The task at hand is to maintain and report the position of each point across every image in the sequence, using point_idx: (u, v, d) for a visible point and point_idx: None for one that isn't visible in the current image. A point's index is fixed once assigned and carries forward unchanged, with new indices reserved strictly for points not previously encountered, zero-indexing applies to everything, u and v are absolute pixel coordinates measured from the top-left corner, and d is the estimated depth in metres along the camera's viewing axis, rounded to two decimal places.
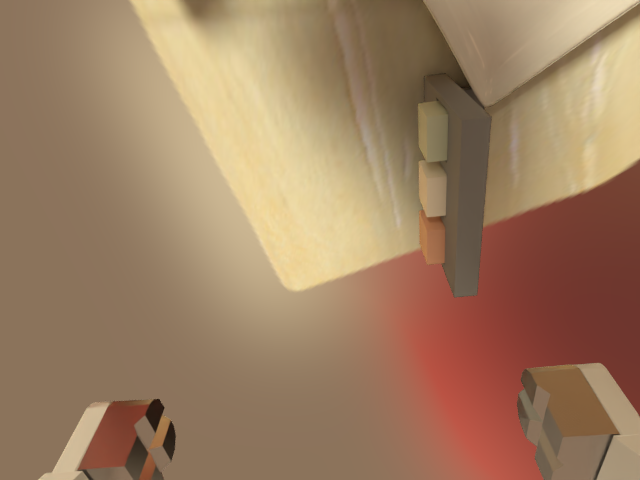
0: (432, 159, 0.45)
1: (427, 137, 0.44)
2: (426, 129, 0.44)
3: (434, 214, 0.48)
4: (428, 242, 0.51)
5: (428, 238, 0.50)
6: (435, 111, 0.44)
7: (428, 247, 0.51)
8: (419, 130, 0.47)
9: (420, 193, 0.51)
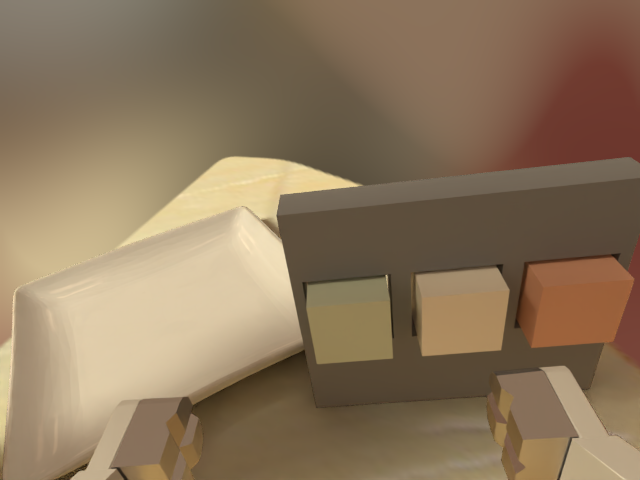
0: (383, 294, 0.25)
1: (342, 304, 0.25)
2: (330, 309, 0.25)
3: (499, 281, 0.25)
4: (571, 282, 0.24)
5: (561, 283, 0.24)
6: None
7: (584, 281, 0.24)
8: (359, 353, 0.27)
9: (484, 341, 0.26)
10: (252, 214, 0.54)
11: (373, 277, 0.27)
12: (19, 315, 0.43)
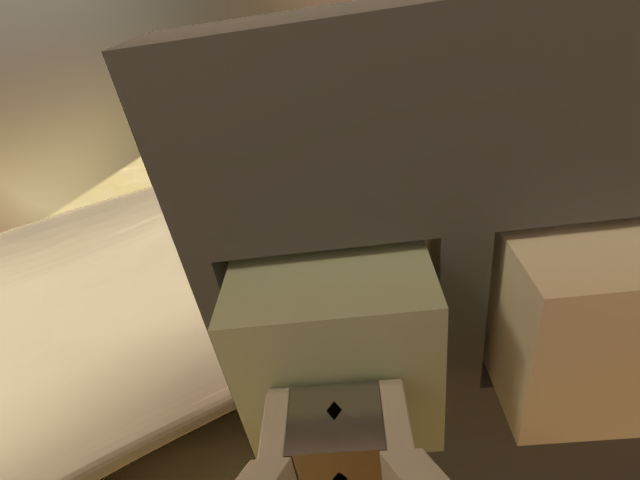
0: (427, 290, 0.09)
1: (311, 321, 0.09)
2: (276, 334, 0.09)
3: None
4: None
5: None
6: None
7: None
8: None
9: None
10: None
11: (394, 248, 0.10)
12: None
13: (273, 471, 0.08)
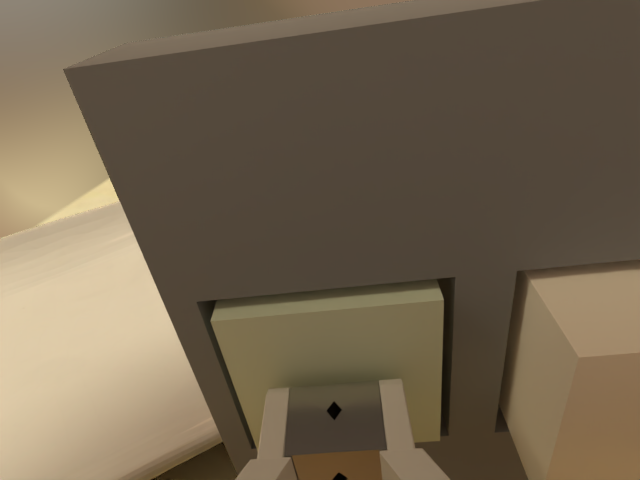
0: (423, 283, 0.09)
1: (311, 312, 0.09)
2: (277, 325, 0.09)
3: None
4: None
5: None
6: None
7: None
8: None
9: None
10: None
11: None
12: None
13: (273, 471, 0.08)
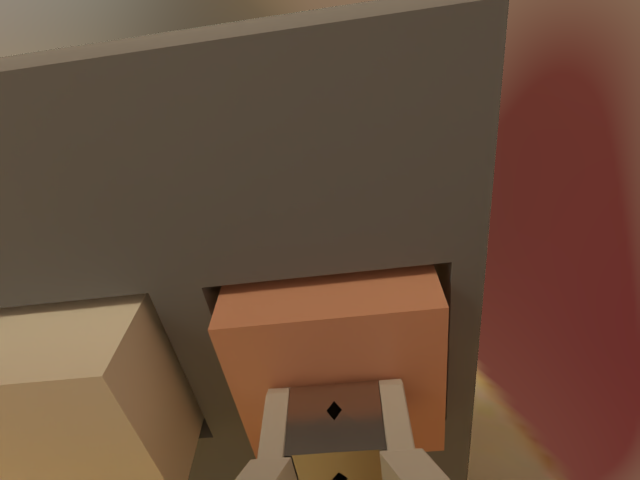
0: None
1: None
2: None
3: (106, 344, 0.09)
4: (285, 316, 0.09)
5: (258, 319, 0.09)
6: None
7: (320, 313, 0.09)
8: None
9: None
10: None
11: None
12: None
13: (273, 471, 0.08)
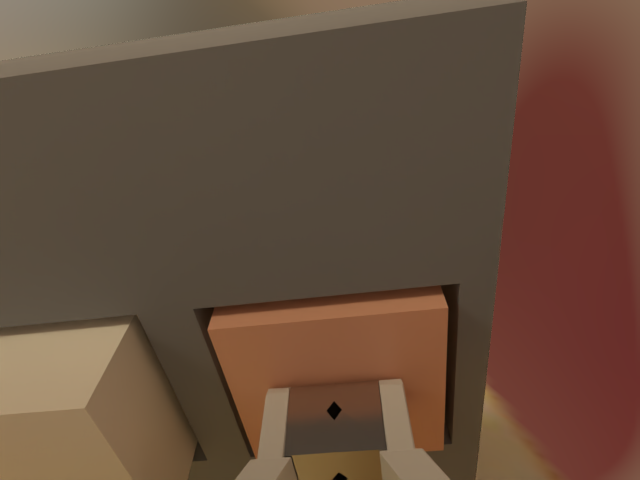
0: None
1: None
2: None
3: (90, 371, 0.08)
4: (285, 316, 0.09)
5: (258, 319, 0.09)
6: None
7: (319, 313, 0.09)
8: None
9: None
10: None
11: None
12: None
13: (273, 471, 0.08)
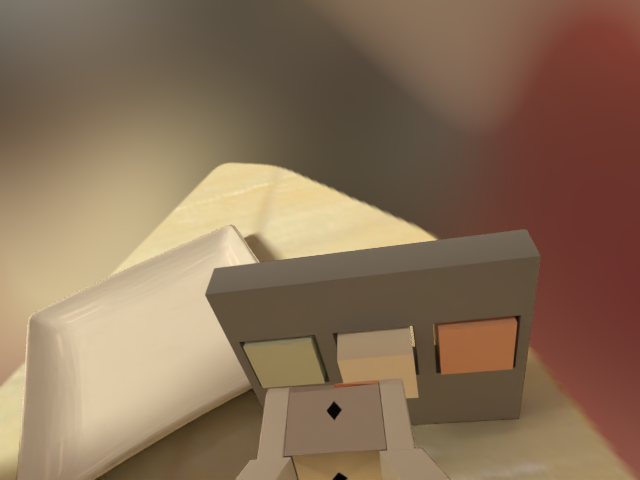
0: None
1: (273, 345, 0.30)
2: (263, 348, 0.30)
3: (407, 343, 0.28)
4: (463, 325, 0.28)
5: (454, 326, 0.28)
6: None
7: (475, 324, 0.28)
8: (295, 379, 0.32)
9: None
10: (238, 234, 0.58)
11: None
12: (32, 343, 0.49)
13: (273, 471, 0.08)
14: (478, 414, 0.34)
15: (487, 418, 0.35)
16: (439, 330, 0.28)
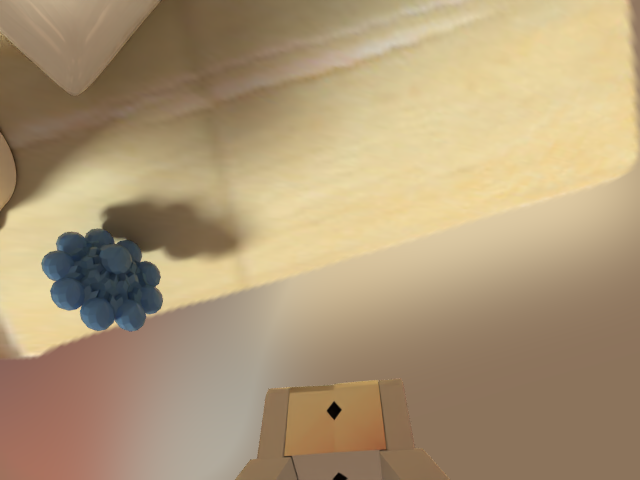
0: None
1: None
2: None
3: None
4: None
5: None
6: None
7: None
8: None
9: None
10: None
11: None
12: None
13: (273, 471, 0.08)
14: None
15: None
16: None
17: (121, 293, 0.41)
